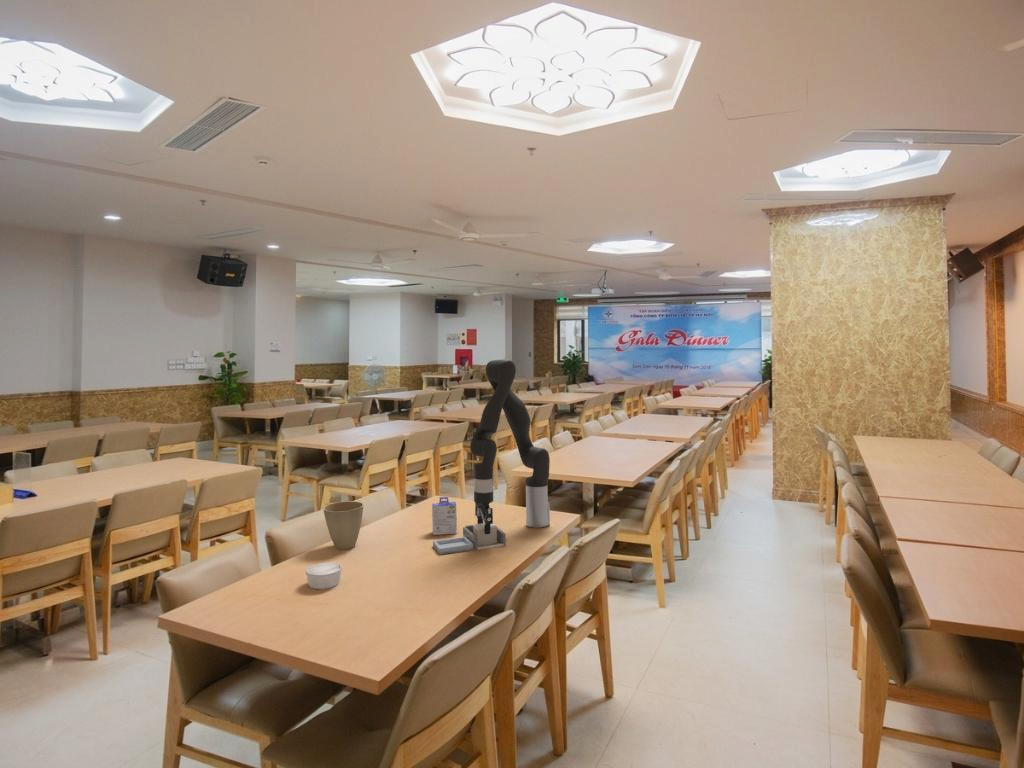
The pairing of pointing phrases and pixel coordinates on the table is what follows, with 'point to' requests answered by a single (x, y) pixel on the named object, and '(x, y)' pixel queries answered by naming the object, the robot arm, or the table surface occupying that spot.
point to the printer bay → (469, 534)
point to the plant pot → (344, 523)
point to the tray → (453, 545)
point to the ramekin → (323, 575)
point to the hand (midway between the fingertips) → (483, 531)
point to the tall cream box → (485, 538)
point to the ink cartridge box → (444, 517)
